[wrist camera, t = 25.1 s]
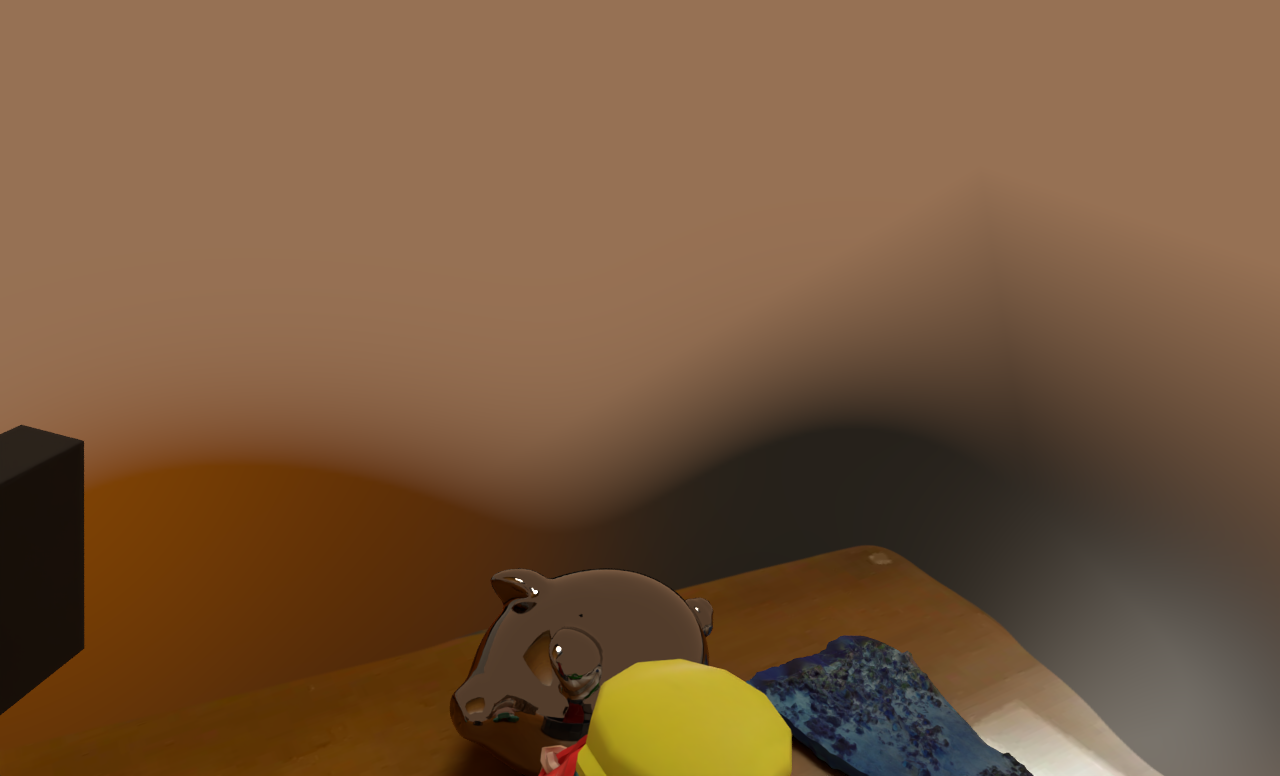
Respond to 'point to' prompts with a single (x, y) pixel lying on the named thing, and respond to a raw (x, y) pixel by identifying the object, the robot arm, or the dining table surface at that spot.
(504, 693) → the piggy bank
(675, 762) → the water bottle
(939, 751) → the rock
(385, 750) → the dining table surface
